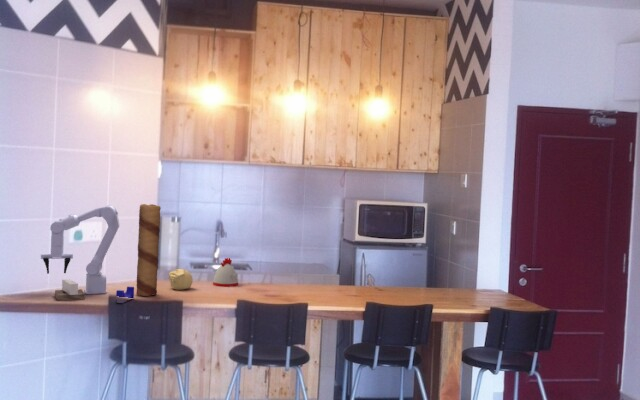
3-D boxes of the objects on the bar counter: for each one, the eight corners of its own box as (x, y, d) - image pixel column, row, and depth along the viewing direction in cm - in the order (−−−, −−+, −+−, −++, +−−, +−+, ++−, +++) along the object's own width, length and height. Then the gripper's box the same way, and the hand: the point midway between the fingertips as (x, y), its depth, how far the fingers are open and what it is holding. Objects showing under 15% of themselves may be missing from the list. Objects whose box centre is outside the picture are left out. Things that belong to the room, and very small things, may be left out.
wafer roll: (149, 291, 329) (152, 203, 328) (161, 295, 322) (164, 205, 321) (131, 294, 321) (134, 204, 320) (143, 297, 314) (146, 205, 313)
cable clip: (124, 298, 311) (125, 286, 310) (133, 299, 310) (134, 286, 310) (113, 303, 299) (113, 290, 299) (122, 304, 298) (122, 291, 298)
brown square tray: (81, 294, 315) (81, 289, 315) (84, 299, 304) (84, 294, 304) (55, 295, 310) (55, 290, 310) (57, 300, 298) (57, 295, 298)
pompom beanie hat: (243, 284, 363) (244, 258, 362) (226, 287, 351) (227, 260, 350) (224, 281, 370) (225, 255, 370) (207, 284, 358) (208, 257, 358)
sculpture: (165, 288, 342) (165, 267, 341) (185, 286, 350) (186, 266, 349) (175, 291, 333) (176, 270, 333) (196, 289, 341) (196, 269, 341)
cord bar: (69, 289, 313) (69, 279, 313) (77, 294, 302) (78, 283, 302) (62, 289, 311) (62, 279, 311) (70, 294, 300) (70, 284, 300)
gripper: (72, 244, 324) (71, 271, 324) (40, 245, 318) (40, 272, 318) (73, 246, 318) (72, 273, 318) (41, 246, 311) (40, 274, 312)
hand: (56, 273), depth 318 cm, fingers open, 7 cm apart
